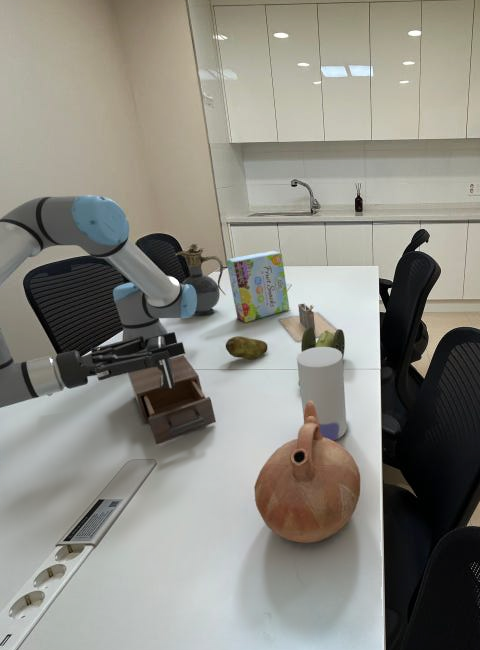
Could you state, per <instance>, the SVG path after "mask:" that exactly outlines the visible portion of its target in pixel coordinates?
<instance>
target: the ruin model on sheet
mask: <svg viewBox="0 0 480 650" xmlns="http://www.w3.org/2000/svg"><path fill="white" fill-rule="evenodd" d="M297 307H298V316H293V317H288V318H283V319H279V322H281V324H282V325H283V327H285V329H286V330H287V331H288V332H289V334H290V335H291V336H292V338H293V339H294V340H295V341H296V342H302V337H303V334H304V331H305V330H306V328H313V330H314V332H315V336H316V338H319V337H320V335H321V334H322V333H323V332H325V331H326V330H327V331H329V332H332V333H333V334H334V335H335V332H336V330H337V329H335V328H334V327H333V326H332V325H331V324H330V323H328V322H327V321H326V320H325V319H324V318H323V317H322V316H320V315H319V314H318V313H317V312H315V313H314V311H312V310H313V309H314V308H315V306H313V304H311V305H310V306H308V305H307V304H305V303H298V306H297Z"/></svg>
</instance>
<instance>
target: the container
mask: <svg viewBox="0 0 480 650" xmlns="http://www.w3.org/2000/svg"><path fill="white" fill-rule="evenodd" d="M296 362H297V363H296V364H297V371H298V383H299V382H300V386H299V390H300V398H301V406H302V415H303V418H304V412H305V407H306V404H307V402H308V401H313V403H314V406H315V410H316V413H317V418H318V422H319V426H320V433H321V435H322V437H324V438H327V439H330V440H332V441H334V442H335V441H336V440H338V439H340V438H342V437H343V436H344V435H345V433H346V432H347V430H348V429H347V428H348V426H347V411H346V410H347V409H346V392H345V379H344V378H345V377H344V357H343V358H342V353H341V352H340V351H339V350H337V349H335V348H331V347H316V348H311V349H308V350H305V351H303V352H302V351H301V352H300V353H299V354H298V355H297V357H296Z"/></svg>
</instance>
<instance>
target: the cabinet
mask: <svg viewBox="0 0 480 650" xmlns="http://www.w3.org/2000/svg"><path fill="white" fill-rule="evenodd" d="M170 361H171V365H172V368H173V372H174V381H175V385H177V384H181V383H184V382H187V381H190V380H194V381H195V383H196V384H197V386H198V387H199V388H200V390H201V391H202V392H203V390H202V385H201V381H200V377H199V374H198V373H197V371H196V370H195V369H194V367H193V366H192V364H191V363H190V362H189V360H188V359H187V358H186V356H185V354H182V355H178V356H174V357H171V358H170ZM127 374H128V378H129V382H130V385H131V388H132V391H133V394H134V398H135V399H136V402H137V406H138V408H139V411H140V413H141V416H142V419H143V421H144V423H145V424H147V423H150V422H149V419H148V417H149V414H148V411H147V408H146V405H145V401H144V398H143V395H145V394H148V393H152V392H155V391H158V390H161V388H160V377H161V376H162V375H163V373H162V371H161V370H160V369H158V367H151V368H147V369H143V370H139V371H134V372H130V373H127Z"/></svg>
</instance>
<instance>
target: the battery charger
mask: <svg viewBox="0 0 480 650" xmlns="http://www.w3.org/2000/svg"><path fill="white" fill-rule="evenodd" d="M164 346H168V345H166V341H165V338H164V337H161V336H160V337H157V338H152V339H149V341H148V343H147V352H151V350H152V349H156V348H160V347H164ZM170 359H171V358H167V359H163V360H160V361H156V362H154V363H155V366H154V367H158V369H160V370H161V371H162V373H163V375H162V376H161V377H160V388H161V389H167V388H172V387H174V386H175V381H174V372H173V368H172V365H171V361H170Z"/></svg>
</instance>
